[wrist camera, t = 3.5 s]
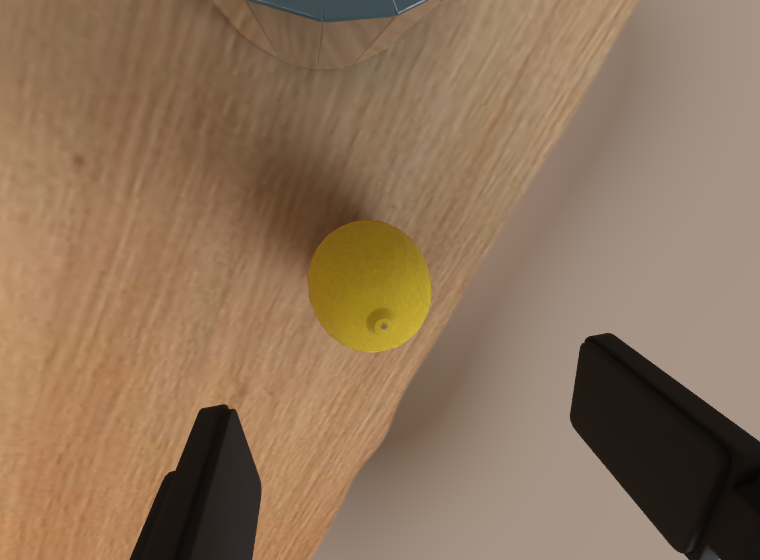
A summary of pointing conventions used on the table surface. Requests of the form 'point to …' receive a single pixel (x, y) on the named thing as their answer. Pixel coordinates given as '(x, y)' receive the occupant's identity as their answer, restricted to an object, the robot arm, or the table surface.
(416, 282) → the lemon
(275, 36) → the blue cylindrical container
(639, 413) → the robot arm
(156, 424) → the table surface
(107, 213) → the table surface
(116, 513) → the table surface
